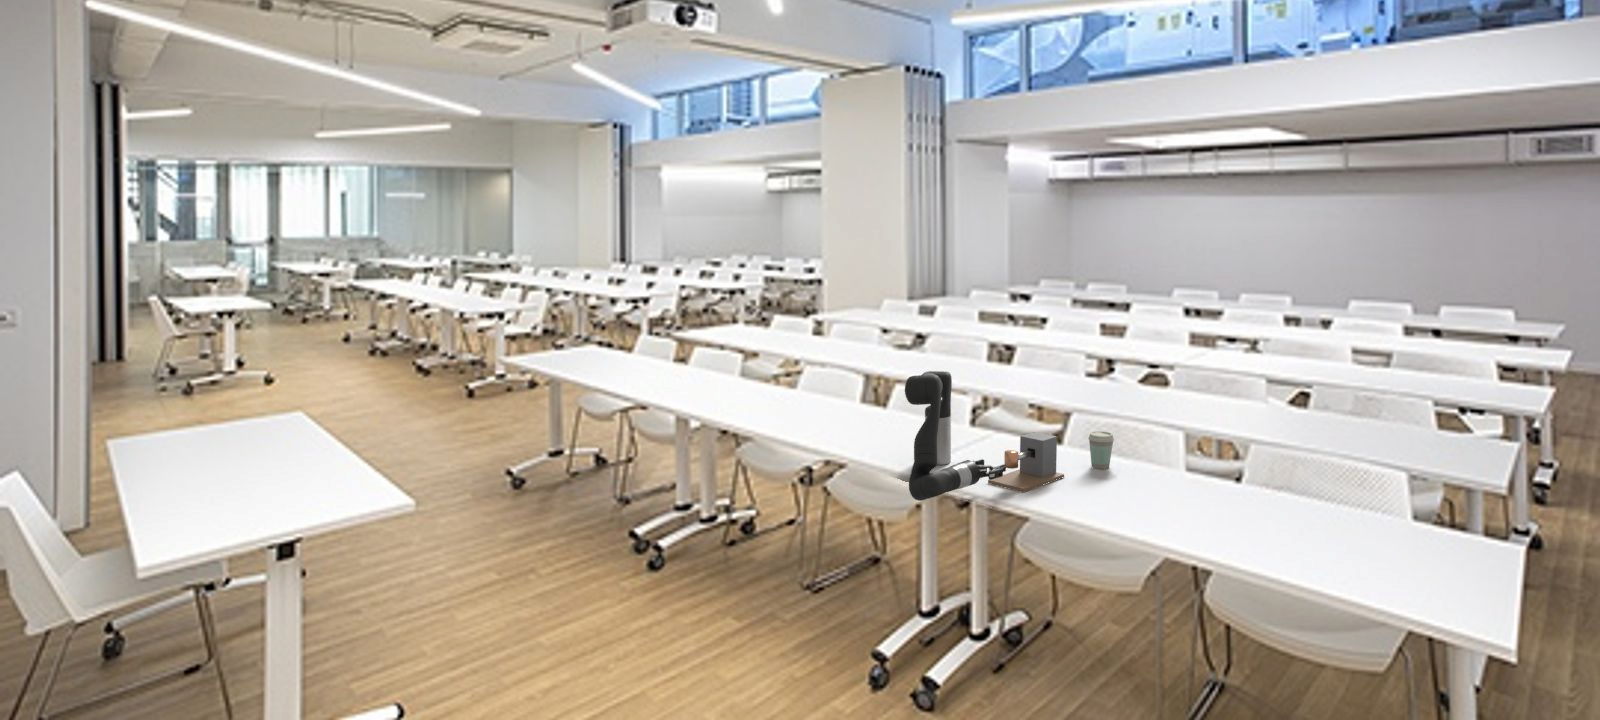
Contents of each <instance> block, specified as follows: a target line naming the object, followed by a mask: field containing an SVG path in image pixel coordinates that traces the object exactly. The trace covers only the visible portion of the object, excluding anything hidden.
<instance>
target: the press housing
mask: <svg viewBox="0 0 1600 720" xmlns="http://www.w3.org/2000/svg"><path fill="white" fill-rule="evenodd" d="M1019 437H1020V438H1019V454H1020V453H1023V452H1026V451H1029V450H1034V452H1035V455H1033V456H1030V457H1027V458H1024V459H1021V460H1019V469H1016V470H1014V471H1011V472H1008V473H1003V476H1002V477H999V478H995V479H992V480H990V479H989V478H988V480H987V484H988V485H993V484H994V486H997V485H998V486H997V487H1001V486H1002V487H1001V488H1004V487H1006V488H1005V489H1008V488H1010V489H1009V490H1012V489H1013V491H1016V490H1017V491H1016V492H1020V491H1021V493H1026V492H1028V490H1029V491H1031V490H1033V488H1034V489H1037V488H1039V486H1040V487H1042V486H1044V485H1043V484H1045V485H1047V484H1046V483H1048V482H1051V481H1053V482H1055V481H1054V480H1056V479H1059V478H1062V477H1064V478H1065V473H1061V472H1057V455H1058V454H1057V453H1058V451H1057V450H1058V449H1057V447H1058V436H1056V435H1051V434H1046V433H1041V432H1036V431H1034V432H1030V433H1026V434H1023V435H1020V436H1019ZM1062 479H1063V478H1062ZM1059 480H1060V479H1059ZM1056 481H1057V480H1056ZM1051 483H1052V482H1051ZM1048 484H1049V483H1048ZM1041 485H1042V486H1041ZM1036 487H1037V488H1036ZM1025 491H1026V492H1025Z"/></svg>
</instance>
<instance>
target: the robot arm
mask: <svg viewBox="0 0 1600 720" xmlns="http://www.w3.org/2000/svg"><path fill="white" fill-rule="evenodd" d="M952 381H953V378H952V374H951V372H949V371H944V370H943V371H941V370H940V371H938V370H936V371H934V370H930V371H924V372H923V373H922V374H918V375H911V376H909V377H908V378H907V379H906V382H905V384H904V395H905V398H906V401H907V402H908V403H909V404H911V405H914V406H916V405H917V406H919V405H920V406H921V405H923V406H924V405H927V406H926V407H925V409H924V422H923V423H922V425H921V427H920V428H919V430H918V431H917V433H916V434H915V435H916V436H915V438H914V443H913V465H912V467H911V472H910V476H909V481H908V490H909V493H910V496H911V497H912V498H913V499H914V500H916V501H925V500H928V499H932V498H936V497H938V496H941V495H943V494H945V493H950V492H952V491H955V490H961V489H964V488H967V487H970V486H972V485H975V484H977V483H978V482H979V481H980V480H981V479H984V478H988V480H989V479H990V480H992V479H995V478H999V477H1002V476H1003V475H1004V472H1006V471H1007V468H1006V465H1004V464H1000V465H998V466H992V465H988V464H985V459H982V458H980V459H977V460H970V459H965V460H963V461H961V462H957V463H956V464H953V465H951V466H950V465H949V464H950V463H951V460H952V459H951V458H952V456H951V454H952V453H951V450H952V448H951V447H952V442H951V441H952V425H951V423H952V422H951V421H952V419H951V417H952V413H951V412H952V409H951V408H952V404H951V403H952V398H951V397H952ZM942 465H949V467H946V468H943V469H940V470H937V471H934V472H931V471H932V470H933V469H935V468H936V467H937V466H942ZM988 470H989V471H988Z"/></svg>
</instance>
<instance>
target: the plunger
mask: <svg viewBox="0 0 1600 720" xmlns="http://www.w3.org/2000/svg"><path fill="white" fill-rule="evenodd" d="M1033 455H1035V452H1034V450H1029V451H1026V452H1023V453H1020V452H1019V451H1018V450H1012V449H1008V450H1005V451H1004V458H1003V459H1004V462H1003V463H1004V465H1006V469H1018V468H1019V461H1020V460H1021V459H1024V458H1027V457H1030V456H1033Z"/></svg>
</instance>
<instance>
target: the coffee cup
mask: <svg viewBox="0 0 1600 720" xmlns="http://www.w3.org/2000/svg"><path fill="white" fill-rule="evenodd" d="M1088 441H1089V452H1090V463H1091V465H1090V466H1091V468H1092V467H1093V469H1095V468H1097V469H1096V470H1108V469H1110V464H1111V457H1112V450H1113V443H1114V441H1115V437H1114V435H1113V433H1111V432H1110V431H1109V432H1108V431H1102V430H1101V431H1091V432H1090V433H1089V436H1088Z"/></svg>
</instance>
